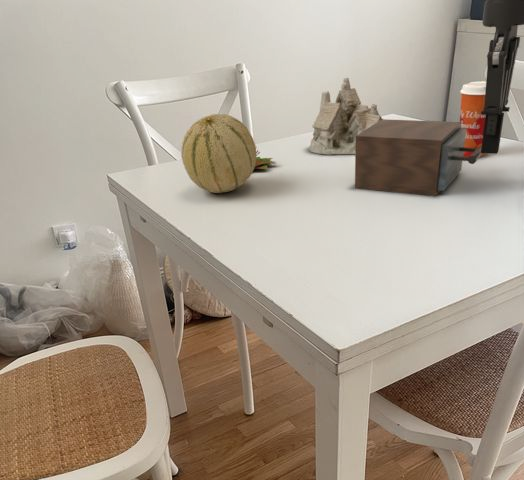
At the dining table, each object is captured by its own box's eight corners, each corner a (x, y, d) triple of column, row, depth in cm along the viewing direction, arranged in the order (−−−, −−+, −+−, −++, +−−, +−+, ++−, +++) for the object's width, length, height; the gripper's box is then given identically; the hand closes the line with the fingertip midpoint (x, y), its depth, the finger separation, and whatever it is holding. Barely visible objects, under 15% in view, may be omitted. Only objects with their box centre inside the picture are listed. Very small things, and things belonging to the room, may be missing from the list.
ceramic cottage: (301, 147, 133) (303, 80, 124) (356, 138, 139) (362, 73, 130) (336, 165, 122) (340, 93, 113) (394, 154, 128) (403, 84, 119)
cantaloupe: (258, 177, 117) (252, 102, 108) (259, 199, 104) (252, 117, 96) (191, 182, 117) (179, 108, 109) (184, 205, 105) (170, 124, 96)
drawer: (484, 172, 104) (490, 129, 100) (468, 192, 96) (474, 146, 91) (389, 165, 113) (392, 125, 108) (367, 183, 104) (368, 141, 100)
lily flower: (273, 174, 117) (271, 152, 115) (220, 176, 119) (217, 154, 117) (281, 159, 127) (279, 138, 124) (231, 160, 129) (229, 140, 126)
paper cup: (445, 156, 118) (453, 86, 110) (464, 148, 122) (473, 80, 114) (478, 161, 113) (489, 88, 105) (497, 152, 117) (508, 82, 109)
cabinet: (455, 173, 108) (461, 122, 102) (435, 196, 98) (441, 140, 93) (379, 167, 115) (381, 119, 109) (354, 188, 105) (355, 135, 100)
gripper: (530, -5, 77) (504, 163, 90) (544, -10, 86) (518, 143, 99) (476, 0, 80) (458, 161, 93) (494, -6, 89) (476, 142, 102)
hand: (489, 152), depth 96 cm, fingers closed
